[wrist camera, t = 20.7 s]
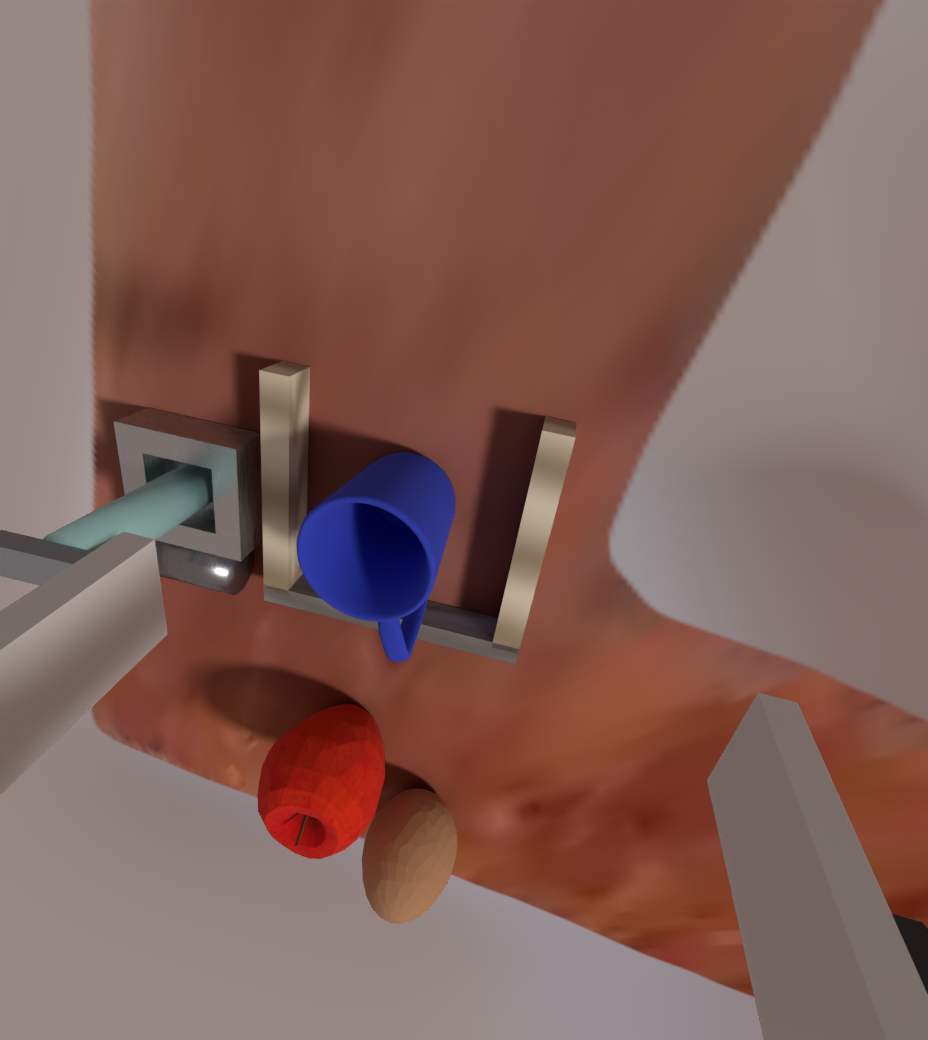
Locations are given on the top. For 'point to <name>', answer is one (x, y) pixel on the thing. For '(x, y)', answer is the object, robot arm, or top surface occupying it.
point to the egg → (408, 855)
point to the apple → (323, 781)
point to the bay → (441, 623)
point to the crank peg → (109, 525)
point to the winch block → (236, 492)
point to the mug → (381, 545)
